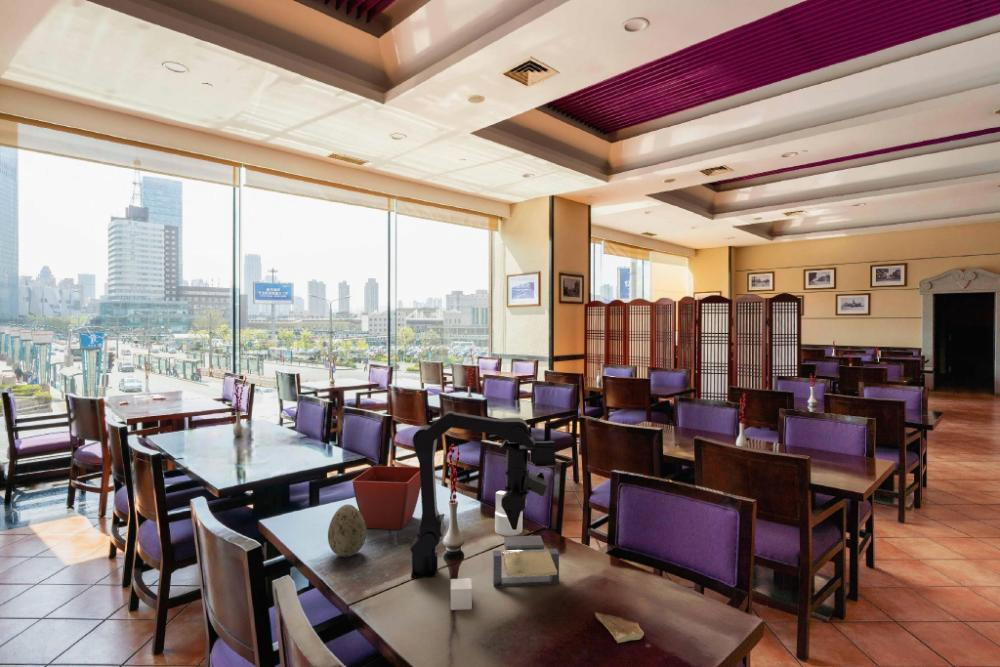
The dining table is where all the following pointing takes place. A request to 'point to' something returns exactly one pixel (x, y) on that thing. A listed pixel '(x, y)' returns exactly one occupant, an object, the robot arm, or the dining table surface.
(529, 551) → the trapdoor
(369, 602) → the dining table surface
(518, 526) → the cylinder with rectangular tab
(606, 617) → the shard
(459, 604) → the cube
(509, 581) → the frame
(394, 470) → the plant pot
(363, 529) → the decorative egg
